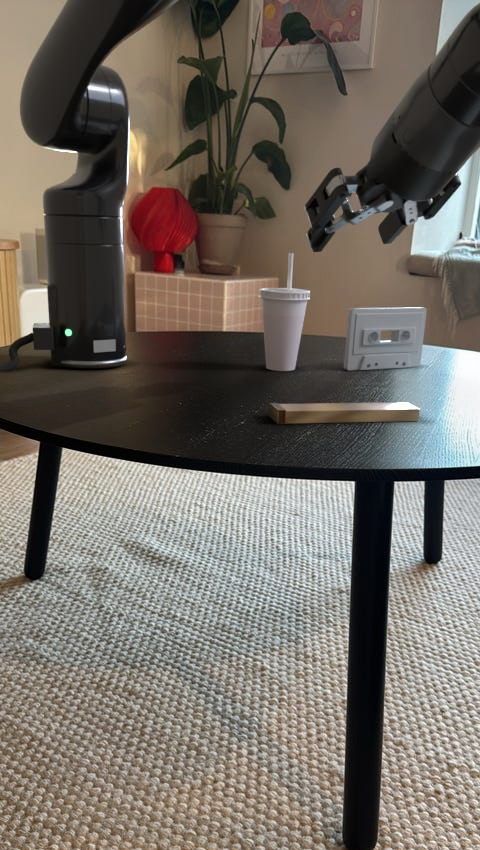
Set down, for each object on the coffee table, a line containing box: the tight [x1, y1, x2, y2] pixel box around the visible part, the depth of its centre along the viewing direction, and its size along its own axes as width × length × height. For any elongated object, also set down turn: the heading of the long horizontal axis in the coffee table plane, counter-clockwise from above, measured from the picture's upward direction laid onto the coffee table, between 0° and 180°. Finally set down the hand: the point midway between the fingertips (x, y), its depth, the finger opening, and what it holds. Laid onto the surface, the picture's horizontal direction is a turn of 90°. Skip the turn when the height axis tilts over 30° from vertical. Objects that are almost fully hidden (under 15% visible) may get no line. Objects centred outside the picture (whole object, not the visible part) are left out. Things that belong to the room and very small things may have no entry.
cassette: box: [343, 306, 428, 371], centre depth 98 cm, size 12×2×8 cm, turn 116°
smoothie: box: [258, 252, 311, 372], centre depth 94 cm, size 6×6×14 cm
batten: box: [269, 401, 421, 425], centre depth 72 cm, size 14×3×1 cm, turn 102°
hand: (348, 240), depth 78 cm, fingers open, 8 cm apart
